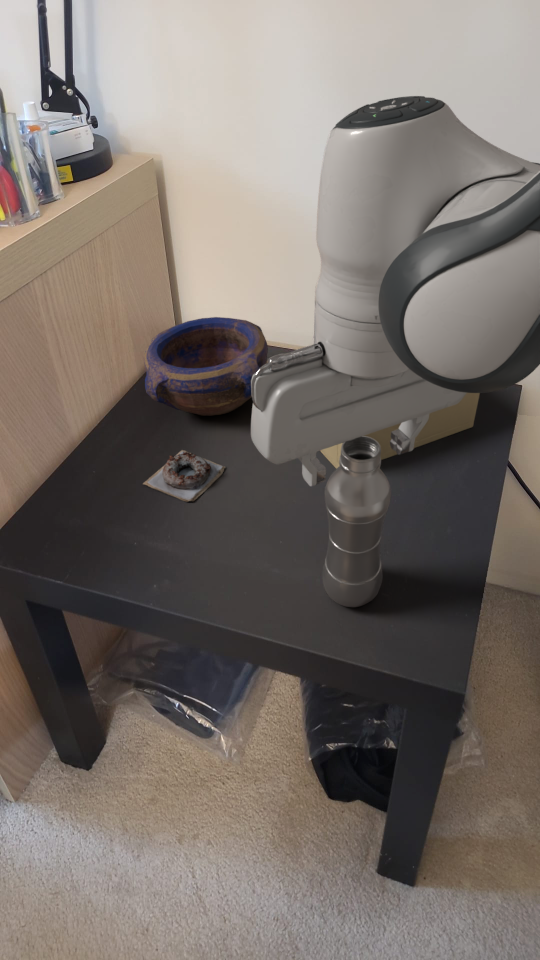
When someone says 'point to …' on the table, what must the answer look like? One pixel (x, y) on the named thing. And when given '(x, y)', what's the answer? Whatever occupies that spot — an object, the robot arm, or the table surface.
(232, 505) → the table surface
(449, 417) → the divided box
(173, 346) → the bowl
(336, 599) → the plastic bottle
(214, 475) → the donut
